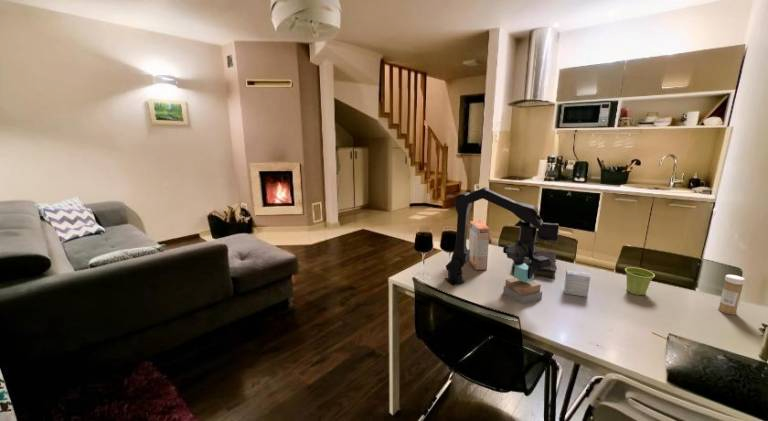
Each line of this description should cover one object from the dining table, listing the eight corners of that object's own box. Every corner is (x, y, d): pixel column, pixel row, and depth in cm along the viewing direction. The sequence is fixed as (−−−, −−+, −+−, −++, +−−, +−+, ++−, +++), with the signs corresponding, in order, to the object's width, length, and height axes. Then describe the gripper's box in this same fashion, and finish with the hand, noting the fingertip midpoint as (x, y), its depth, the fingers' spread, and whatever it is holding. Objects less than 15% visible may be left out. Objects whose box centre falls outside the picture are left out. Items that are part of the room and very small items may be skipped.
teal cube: (513, 277, 126) (514, 265, 125) (523, 274, 128) (524, 263, 127) (523, 282, 122) (524, 270, 121) (533, 279, 124) (534, 267, 123)
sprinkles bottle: (739, 314, 112) (748, 278, 109) (730, 315, 111) (739, 280, 108) (723, 307, 116) (731, 273, 113) (714, 309, 115) (722, 274, 112)
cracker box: (487, 270, 151) (490, 228, 147) (475, 270, 151) (477, 228, 147) (479, 259, 165) (481, 220, 160) (467, 259, 165) (469, 220, 160)
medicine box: (586, 292, 129) (588, 272, 127) (587, 297, 125) (590, 277, 123) (563, 289, 132) (566, 269, 130) (564, 293, 128) (567, 273, 126)
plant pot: (651, 291, 129) (655, 271, 127) (649, 300, 122) (653, 279, 120) (623, 284, 135) (626, 265, 133) (620, 292, 128) (623, 272, 126)
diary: (511, 273, 149) (512, 263, 148) (516, 256, 170) (517, 247, 169) (556, 280, 140) (557, 270, 139) (556, 261, 162) (557, 251, 161)
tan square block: (505, 286, 129) (505, 279, 128) (521, 282, 132) (522, 275, 131) (522, 296, 120) (523, 288, 120) (540, 291, 124) (540, 284, 123)
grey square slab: (503, 293, 130) (503, 285, 129) (521, 289, 133) (522, 281, 133) (522, 305, 121) (522, 296, 120) (541, 300, 124) (542, 291, 124)
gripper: (493, 234, 127) (491, 270, 130) (530, 248, 110) (526, 290, 114) (515, 230, 131) (512, 266, 134) (554, 244, 114) (549, 284, 118)
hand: (523, 276), depth 125 cm, fingers closed on teal cube, 5 cm apart
